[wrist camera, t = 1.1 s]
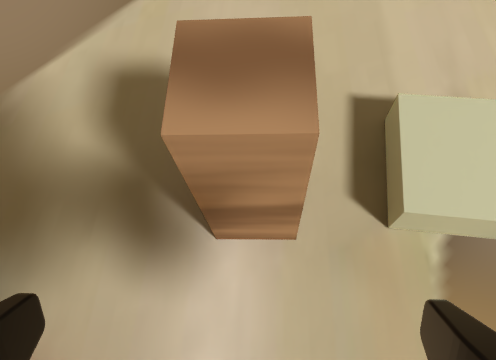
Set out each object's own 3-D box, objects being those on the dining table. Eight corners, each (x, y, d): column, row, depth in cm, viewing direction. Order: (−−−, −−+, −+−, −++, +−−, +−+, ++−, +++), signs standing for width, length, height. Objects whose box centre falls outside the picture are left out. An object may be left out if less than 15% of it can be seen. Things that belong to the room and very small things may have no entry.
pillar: (295, 239, 23) (319, 133, 11) (216, 238, 23) (160, 135, 11) (293, 167, 25) (311, 16, 13) (220, 168, 25) (176, 20, 14)
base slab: (526, 242, 22) (563, 227, 19) (388, 228, 22) (404, 212, 20) (505, 128, 25) (533, 101, 22) (384, 120, 26) (398, 93, 23)
